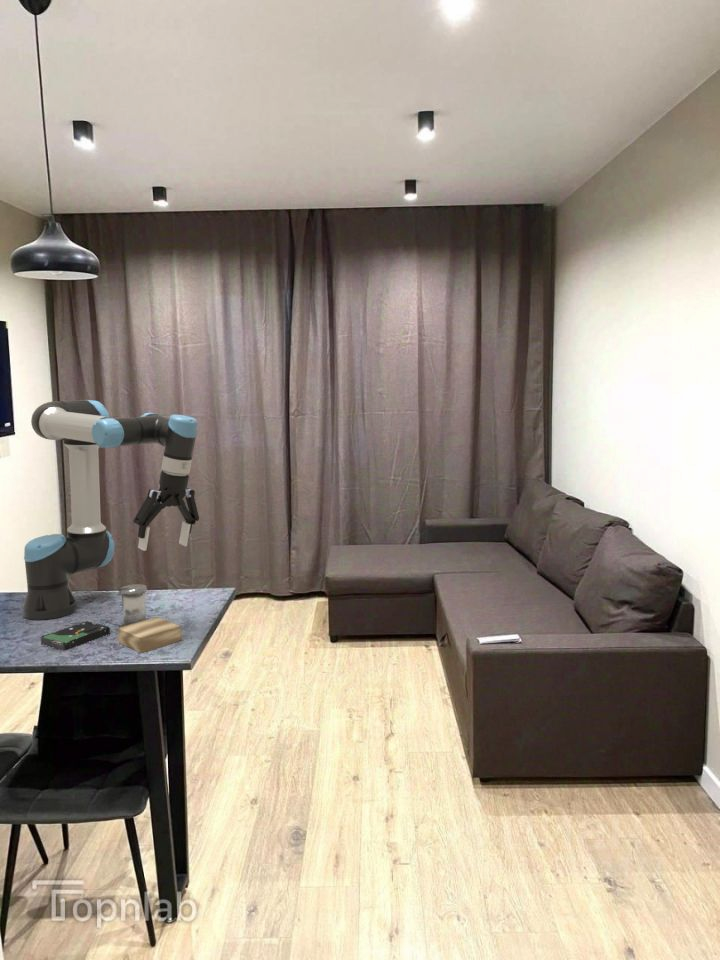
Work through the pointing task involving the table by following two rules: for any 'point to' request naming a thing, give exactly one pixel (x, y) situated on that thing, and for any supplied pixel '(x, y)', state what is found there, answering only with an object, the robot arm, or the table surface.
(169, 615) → the table surface
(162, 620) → the stand
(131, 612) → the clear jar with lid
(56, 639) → the disk drive
